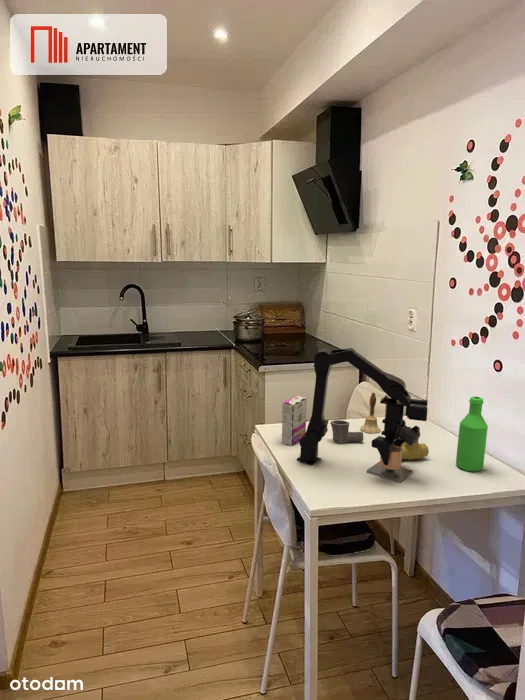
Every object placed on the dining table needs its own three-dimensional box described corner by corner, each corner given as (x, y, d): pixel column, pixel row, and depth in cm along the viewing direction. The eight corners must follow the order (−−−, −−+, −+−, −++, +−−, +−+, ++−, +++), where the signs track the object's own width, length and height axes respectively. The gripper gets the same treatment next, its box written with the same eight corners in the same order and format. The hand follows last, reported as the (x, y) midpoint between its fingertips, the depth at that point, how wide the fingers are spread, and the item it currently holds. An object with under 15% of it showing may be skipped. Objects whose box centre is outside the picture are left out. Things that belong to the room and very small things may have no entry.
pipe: (363, 445, 196) (365, 425, 195) (330, 444, 196) (331, 424, 195) (361, 439, 202) (362, 420, 200) (328, 438, 202) (329, 419, 201)
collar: (377, 465, 171) (378, 446, 170) (385, 459, 176) (387, 441, 175) (395, 471, 167) (397, 451, 166) (403, 465, 172) (405, 445, 171)
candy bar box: (294, 434, 205) (296, 395, 202) (305, 437, 202) (307, 397, 199) (280, 443, 196) (282, 401, 192) (292, 446, 193) (293, 404, 190)
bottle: (466, 473, 173) (473, 402, 168) (450, 463, 181) (457, 394, 176) (488, 471, 175) (496, 400, 170) (471, 461, 183) (479, 393, 179)
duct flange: (400, 483, 165) (401, 466, 164) (366, 472, 172) (367, 456, 171) (412, 472, 173) (414, 456, 171) (379, 463, 180) (381, 447, 179)
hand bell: (383, 429, 214) (386, 392, 211) (376, 435, 207) (379, 396, 204) (364, 425, 218) (367, 388, 215) (357, 430, 211) (359, 393, 208)
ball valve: (428, 462, 184) (414, 448, 193) (431, 437, 180) (417, 423, 189) (396, 467, 181) (383, 452, 190) (398, 441, 177) (385, 427, 186)
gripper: (405, 430, 156) (401, 478, 159) (428, 415, 171) (424, 460, 174) (372, 422, 163) (369, 468, 166) (397, 408, 178) (393, 451, 181)
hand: (390, 461), depth 172 cm, fingers closed on collar, 6 cm apart
